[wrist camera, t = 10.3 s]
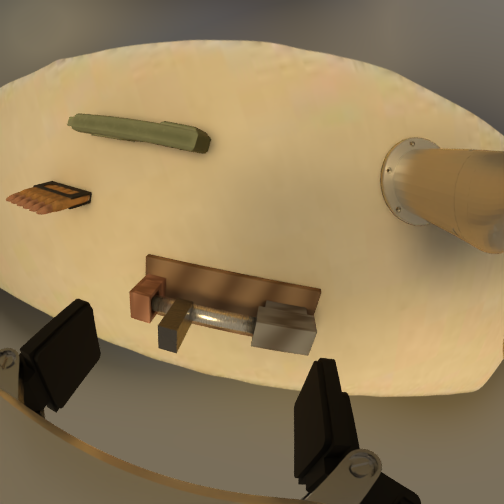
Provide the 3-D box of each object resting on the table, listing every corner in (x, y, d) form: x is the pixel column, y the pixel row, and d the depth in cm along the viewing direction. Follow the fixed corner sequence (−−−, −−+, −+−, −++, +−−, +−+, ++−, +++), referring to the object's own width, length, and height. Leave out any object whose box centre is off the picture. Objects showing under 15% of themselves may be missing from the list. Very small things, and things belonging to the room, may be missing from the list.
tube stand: (320, 289, 39) (327, 315, 32) (302, 341, 43) (305, 371, 36) (148, 254, 40) (126, 272, 33) (148, 308, 43) (130, 331, 37)
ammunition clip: (91, 192, 38) (40, 207, 26) (90, 203, 38) (40, 221, 27) (51, 181, 37) (3, 192, 26) (50, 190, 38) (2, 204, 27)
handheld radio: (206, 157, 35) (72, 131, 34) (213, 134, 34) (77, 113, 33) (192, 155, 28) (46, 130, 28) (200, 127, 27) (51, 109, 27)
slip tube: (279, 314, 37) (278, 352, 29) (273, 334, 38) (271, 373, 30) (146, 285, 38) (119, 313, 30) (146, 305, 39) (122, 336, 31)
